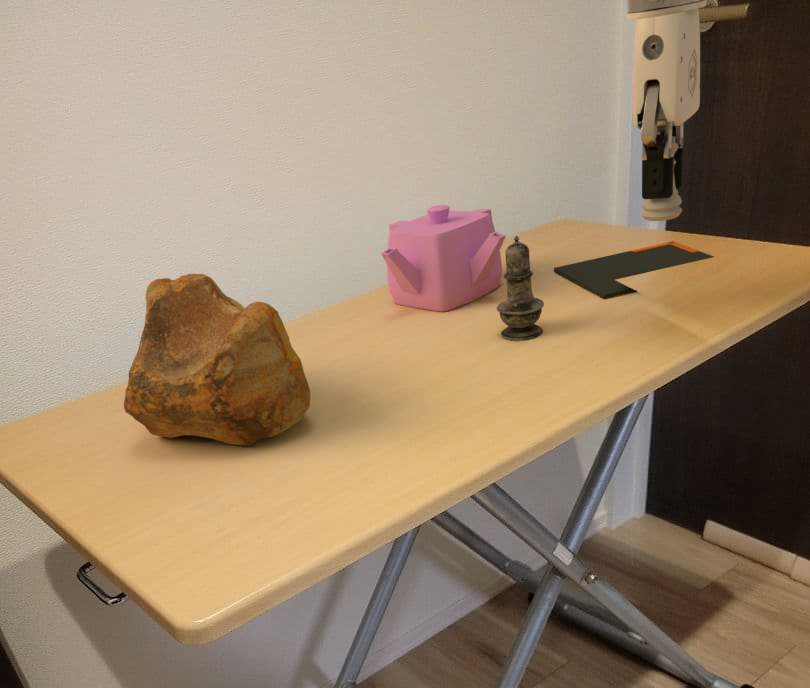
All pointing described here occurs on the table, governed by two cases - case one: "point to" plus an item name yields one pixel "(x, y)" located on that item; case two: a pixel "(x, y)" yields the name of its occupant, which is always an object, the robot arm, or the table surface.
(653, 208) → the rook chess piece
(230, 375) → the rough brown rock
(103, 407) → the table surface
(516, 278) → the salt shaker
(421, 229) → the teakettle
